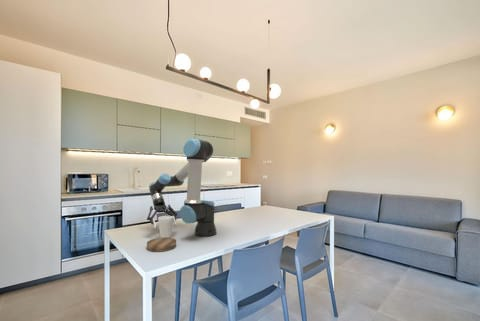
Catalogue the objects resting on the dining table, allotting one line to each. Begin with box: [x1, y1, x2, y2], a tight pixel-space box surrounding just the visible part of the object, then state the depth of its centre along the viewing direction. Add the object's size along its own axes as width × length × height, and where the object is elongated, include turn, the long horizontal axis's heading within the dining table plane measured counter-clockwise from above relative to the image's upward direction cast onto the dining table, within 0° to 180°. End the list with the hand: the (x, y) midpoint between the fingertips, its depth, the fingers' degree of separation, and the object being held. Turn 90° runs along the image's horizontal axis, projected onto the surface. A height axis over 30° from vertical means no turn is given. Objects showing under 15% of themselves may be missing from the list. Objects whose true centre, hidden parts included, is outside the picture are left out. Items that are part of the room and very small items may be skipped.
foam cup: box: [157, 215, 173, 238], centre depth 148 cm, size 10×9×13 cm
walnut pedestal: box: [146, 237, 177, 253], centre depth 129 cm, size 16×16×3 cm
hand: (165, 226), depth 147 cm, fingers open, 13 cm apart
